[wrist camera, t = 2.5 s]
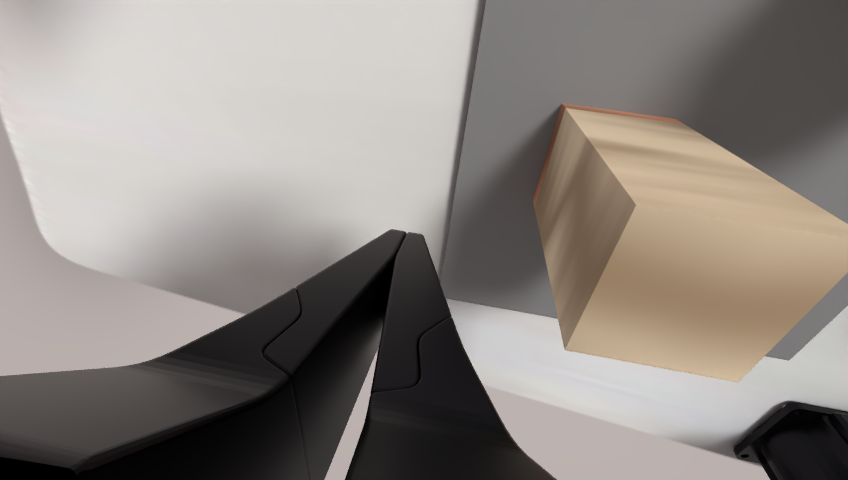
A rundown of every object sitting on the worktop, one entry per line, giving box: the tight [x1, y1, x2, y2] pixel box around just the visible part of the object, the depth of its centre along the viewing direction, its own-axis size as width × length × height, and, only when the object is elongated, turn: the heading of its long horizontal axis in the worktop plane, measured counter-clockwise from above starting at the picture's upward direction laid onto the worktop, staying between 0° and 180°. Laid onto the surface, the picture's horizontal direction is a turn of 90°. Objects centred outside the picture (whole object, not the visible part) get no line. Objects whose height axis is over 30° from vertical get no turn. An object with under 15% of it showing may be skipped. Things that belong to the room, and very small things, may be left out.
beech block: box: [533, 103, 848, 382], centre depth 12 cm, size 4×4×9 cm
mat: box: [440, 0, 848, 360], centre depth 15 cm, size 20×20×1 cm
